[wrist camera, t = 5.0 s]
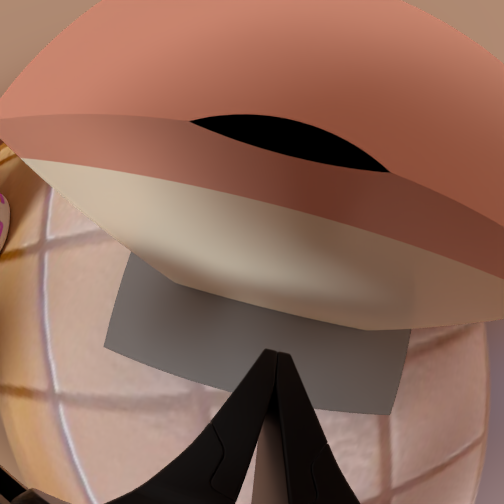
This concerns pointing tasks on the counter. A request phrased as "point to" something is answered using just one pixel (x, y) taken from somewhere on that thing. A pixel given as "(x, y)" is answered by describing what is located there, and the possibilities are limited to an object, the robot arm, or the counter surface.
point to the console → (251, 342)
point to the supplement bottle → (4, 219)
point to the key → (281, 152)
